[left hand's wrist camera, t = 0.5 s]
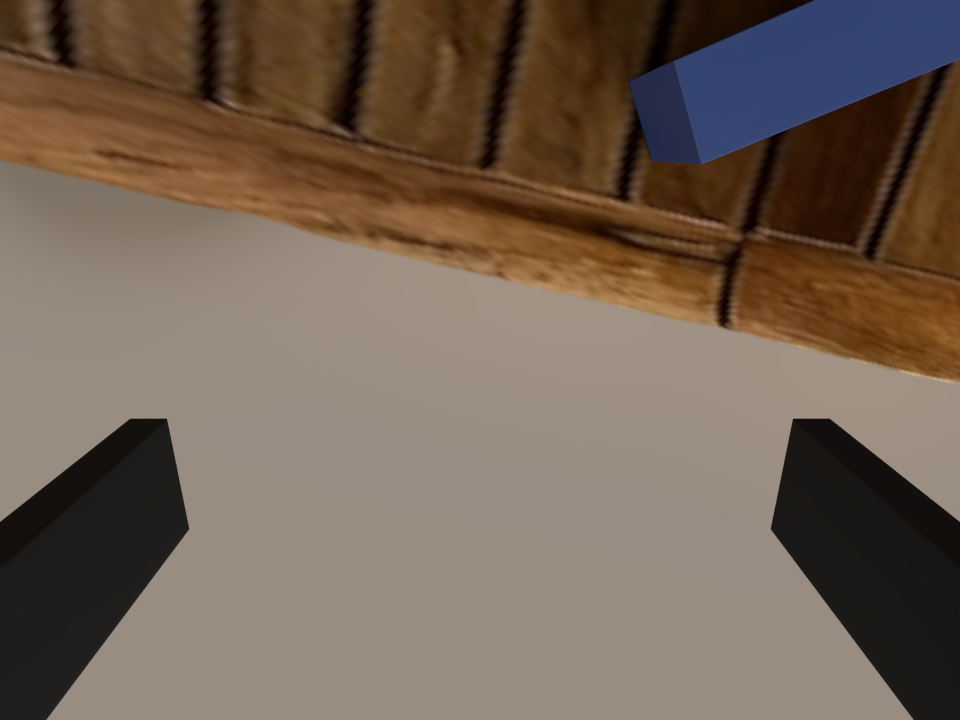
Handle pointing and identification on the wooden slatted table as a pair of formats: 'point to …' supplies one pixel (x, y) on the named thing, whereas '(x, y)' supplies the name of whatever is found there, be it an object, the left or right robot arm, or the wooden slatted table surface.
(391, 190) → the wooden slatted table surface
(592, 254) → the wooden slatted table surface
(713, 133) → the bar
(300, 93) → the wooden slatted table surface
